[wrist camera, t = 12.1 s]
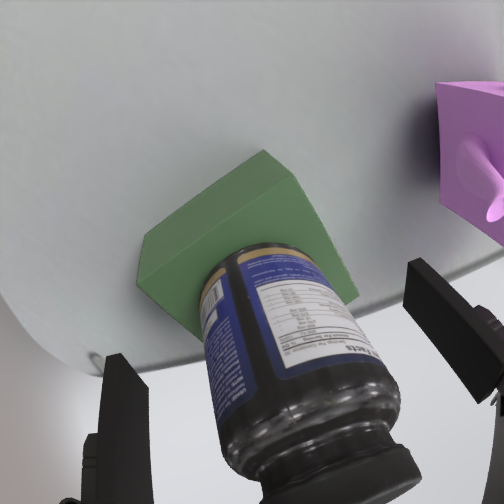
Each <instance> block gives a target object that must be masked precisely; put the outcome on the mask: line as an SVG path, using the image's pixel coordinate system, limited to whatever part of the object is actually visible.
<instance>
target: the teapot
mask: <svg viewBox="0 0 504 504" xmlns="http://www.w3.org/2000/svg"><path fill="white" fill-rule="evenodd" d="M435 86H436V95H437V105H438V117H439V133H440V203H441V204H442V205H444V206H445V207H447V208H448V209H450V210H452V211H453V212H455V213H456V214H458V215H459V216H461V217H462V218H464V219H465V220H467V221H468V222H470V223H471V224H472V225H474V226H475V227H477V228H478V229H480V230H481V231H482V232H484V233H485V234H487V235H488V236H489V237H491V238H492V239H493V240H495V241H496V242H498V243H499V244H500V245H502V246H503V247H504V82H488V81H469V82H441V83H435Z"/></svg>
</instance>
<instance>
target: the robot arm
mask: <svg viewBox="0 0 504 504" xmlns="http://www.w3.org/2000/svg"><path fill="white" fill-rule="evenodd" d="M403 307H404V308H405V310H406V311H407V312H408V313H409V314H410V316H411V317H412V318H413V319H414V321H415V322H416V323H417V324H418V325H419V327H420V328H421V329H422V330H423V332H424V333H425V334H426V335H427V337H428V338H429V339H430V340H431V342H432V343H433V344H434V345H435V347H436V348H437V349H438V351H439V352H440V353H441V354H442V356H443V357H444V358H445V360H446V361H447V362H448V364H449V365H450V366H451V368H452V369H453V370H454V372H455V373H456V374H457V376H458V377H459V378H460V380H461V381H462V383H463V384H464V385H465V387H466V388H467V389H468V391H469V392H470V394H471V395H472V397H473V398H474V399H475V401H476V402H477V404H479V403H481V402H482V401H483V400H485V399H486V398H487V397H489V396H490V395H491V394H492V392H493V391H494V389H495V388H497V390H498V392H497V394H496V395H495V397H494V398H493V400H492V401H491V404H490V405H491V406H492V405H493V404H494V403H495V402H496V400H497V403H496V405H495V406H496V419H495V430H494V439H493V448H492V454H491V461H490V467H489V472H488V478H487V483H486V487H485V492H484V496H483V500H482V504H504V326H503V325H502V323H501V322H500V321H499V320H497V319H496V317H495V316H494V315H493V314H492V313H491V312H490V311H489V310H488V309H486V308H484V307H482V306H480V305H477V306H476V307H474V308H473V307H472V306H471V305H469V303H468V302H467V301H466V300H465V299H464V298H463V297H462V296H461V295H460V294H459V293H458V292H457V291H456V290H455V289H454V288H453V287H452V286H451V285H450V284H449V283H448V282H447V281H446V280H444V279H443V278H442V277H441V276H440V275H439V274H438V273H437V272H436V271H435V270H434V269H433V268H432V267H431V266H430V265H428V264H427V263H426V262H425V261H424V260H423V259H422V258H421V257H420V258H418V259H415V260H413V261H410V262H408V267H407V276H406V285H405V293H404V300H403ZM83 447H84V448H83V461H82V466H83V468H82V483H81V501H79V500H76V499H74V498H65V499H63V500H62V501H61V502H60V503H59V504H154V499H153V488H152V475H151V461H150V440H149V388H148V387H147V385H146V384H145V383H144V382H143V381H142V379H141V378H140V377H139V376H138V374H137V373H136V372H135V370H134V369H133V368H132V367H131V365H130V364H129V363H128V361H127V360H126V359H125V358H124V356H123V355H122V354H121V353H118V354H114V355H110V356H106V362H105V369H104V376H103V383H102V392H101V401H100V411H99V421H98V433H92V434H88V436H87V438H86V440H85V443H84V446H83Z"/></svg>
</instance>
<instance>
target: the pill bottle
mask: <svg viewBox="0 0 504 504" xmlns="http://www.w3.org/2000/svg"><path fill="white" fill-rule="evenodd" d="M199 312H200V320H201V321H200V322H201V328H202V336H203V344H204V350H205V357H206V364H207V370H208V376H209V383H210V390H211V396H212V402H213V407H214V413H215V419H216V424H217V430H218V435H219V440H220V445H221V451H222V454H223V457H224V458H225V461H226V462H227V464H228V465H229V466H230V468H232V469H233V470H234V471H235V472H236V473H237V474H239V475H241V476H243V477H245V478H247V479H248V480H253V481H258V482H260V483H261V486H262V491H263V499H262V500H261V501H260V503H259V504H386V503H388V502H390V501H392V500H393V499H395V498H397V497H399V496H400V495H402V494H404V493H405V492H407V491H408V490H410V489H411V488H413V487H414V486H416V484H418V483H419V482H420V481H421V480H422V476H421V473H420V470H419V468H418V467H417V465H416V463H415V461H414V460H413V457H412V456H411V454H410V451H409V449H407V448H405V447H404V446H403V445H402V444H396V443H395V442H394V441H393V439H392V437H391V435H390V433H389V431H390V430H391V429H392V427H393V426H394V424H395V422H396V421H397V419H398V415H399V412H400V404H401V398H400V392H399V387H398V385H397V382H396V381H395V380H394V378H393V377H392V376H391V374H390V373H389V371H388V370H387V368H386V366H385V365H384V363H383V362H382V360H381V359H380V357H379V356H378V354H377V352H376V351H375V350H374V348H373V346H372V345H371V344H370V342H369V341H368V339H367V338H366V336H365V334H364V333H363V331H362V330H361V329H360V327H359V325H358V324H357V323H356V321H355V319H354V318H353V316H352V315H351V313H350V312H349V310H348V309H347V307H346V306H345V305H344V303H343V302H342V301H341V299H340V298H339V296H338V295H337V293H336V292H335V291H334V289H333V288H332V286H331V285H330V283H329V282H328V280H327V279H326V278H325V276H324V274H323V273H322V271H321V270H320V269H319V268H318V266H317V265H316V263H315V262H314V261H313V259H312V258H311V257H310V256H309V255H308V254H306V253H304V252H303V251H301V250H300V249H298V248H296V247H294V246H291V245H288V244H284V243H274V242H263V243H258V244H253V245H250V246H247V247H244V248H241V249H240V250H239V251H236V252H234V253H232V254H230V255H229V256H228V257H226V258H225V259H223V260H222V261H221V262H219V263H218V264H217V265H216V266H215V268H213V269H212V270H211V271H210V273H209V275H208V276H207V278H206V280H205V281H204V283H203V285H202V288H201V292H200V298H199Z"/></svg>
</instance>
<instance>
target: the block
mask: <svg viewBox="0 0 504 504" xmlns="http://www.w3.org/2000/svg"><path fill="white" fill-rule="evenodd" d="M263 242H274V243H284V244H288V245H291V246H294V247H296V248H298V249H300V250H301V251H303V252H304V253H306V254H308V255H309V256H310V257H311V258H312V259H313V261H314V262H315V263H316V265H317V266H318V268H319V269H320V270H321V271H322V273H323V274H324V276H325V278H326V279H327V280H328V282H329V283H330V285H331V286H332V288H333V289H334V291H335V292H336V293H337V295H338V296H339V298H340V299H341V301H342V302H343V303H344V305H347V304H348V303H350V302H351V301H353V300H354V299H355V298H357V297H358V296H360V294H359V292H358V290H357V288H356V286H355V284H354V282H353V280H352V278H351V276H350V274H349V272H348V271H347V269H346V267H345V265H344V263H343V261H342V259H341V257H340V255H339V253H338V252H337V250H336V248H335V246H334V244H333V242H332V241H331V239H330V237H329V235H328V233H327V231H326V230H325V228H324V226H323V224H322V222H321V221H320V219H319V217H318V215H317V214H316V212H315V210H314V208H313V207H312V205H311V203H310V201H309V200H308V198H307V196H306V194H305V193H304V191H303V189H302V188H301V186H300V184H299V183H298V181H297V179H296V178H295V176H294V174H293V173H291V172H290V171H289V170H288V169H287V168H285V167H284V166H283V165H282V164H281V163H280V162H278V161H277V160H276V159H275V158H274V157H272V156H271V155H270V154H269V153H268V152H266V151H265V150H262V151H261V152H259V153H258V154H256V155H255V156H253V157H252V158H250V159H249V160H247V161H246V162H244V163H243V164H241V165H240V166H238V167H237V168H235V169H234V170H233V171H231V172H230V173H228V174H227V175H225V176H224V177H222V178H221V179H220V180H218V181H217V182H215V183H214V184H213V185H211V186H210V187H208V188H207V189H205V190H204V191H203V192H201V193H200V194H199V195H197V196H196V197H194V198H193V199H192V200H190V201H189V202H188V203H186V204H185V205H184V206H182V207H181V208H180V209H178V210H177V211H175V212H174V213H173V214H172V215H170V216H169V217H168V218H166V219H165V220H164V221H162V222H161V223H160V224H158V225H157V226H156V227H155V228H153V229H152V230H151V231H149V232H148V233H147V234H146V235H145V237H144V242H143V247H142V252H141V258H140V263H139V269H138V274H137V280H136V285H137V286H138V287H139V288H140V289H141V290H143V291H144V292H145V293H146V294H147V295H148V296H149V297H150V298H151V299H152V300H154V301H155V302H156V303H157V304H158V305H159V306H160V307H161V308H163V309H164V310H165V311H166V312H167V313H168V314H169V315H171V316H172V317H173V318H174V319H175V320H176V321H178V322H179V323H180V324H181V325H182V326H184V327H185V328H186V329H187V330H188V331H189V332H191V333H192V334H193V335H194V336H196V337H197V338H198V339H199V340H200V341H202V342H203V336H202V328H201V322H200V321H201V320H200V312H199V298H200V292H201V288H202V285H203V283H204V281H205V280H206V278H207V276H208V275H209V273H210V271H211V270H212V269H213V268H215V266H216V265H217V264H218V263H219V262H221V261H222V260H223V259H225V258H226V257H228V256H229V255H230V254H232V253H234V252H236V251H239V250H240V249H241V248H244V247H247V246H250V245H253V244H258V243H263Z"/></svg>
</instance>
